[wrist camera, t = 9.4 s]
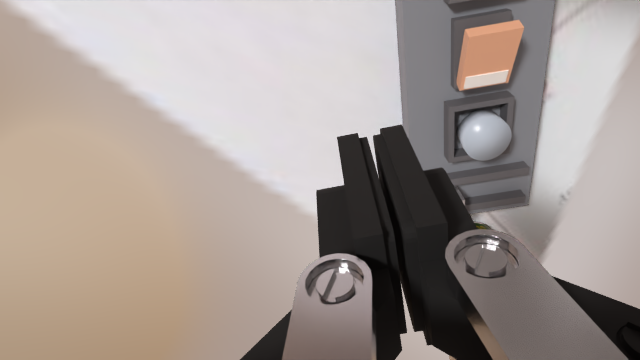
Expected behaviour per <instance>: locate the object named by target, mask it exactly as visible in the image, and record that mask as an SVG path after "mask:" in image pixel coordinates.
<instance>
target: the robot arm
mask: <svg viewBox="0 0 640 360" xmlns="http://www.w3.org/2000/svg"><path fill="white" fill-rule="evenodd" d="M337 140H338V146H339V153H340V159H341V165H342V172H343V178H344V185H343V186H337V187H332V188H326V189H321V190H317V214H318V234H319V253H320V258H319V259H316V260H315V261H313V262H312V263H311V264H309V265H308V266H307V267H306V268H305V269H304V270H303V272H302V273H301V275H300V277H299V280H298V282H297V287H296V292H295V297H294V302H293V308H292V310H291V311H290V312H289V313H288V314H287V315H286V316H285V317H284V318H283V319H282V320H281V321H279V322H278V323H277V324H276V325H275V326H274V327H273V328H272V329H271V330H270V331H269V332H268V334H266V335H265V336H264V337H263V338H262V339H261V340H260V341H259V342H258V343H257V344H256V345H255V346H254V347H253V348H252V349H251V350H250V351H249V352H247V354H246V355H244V356H243V357H242V358H241V359H240V360H395V359H396V357H397V356H398V355H399V353H400V352H401V351H402V346H401V339H400V334H403V333H407V328H406V320H405V313H404V305H403V297H402V289H401V284H402V288H403V292H404V295H405V299H406V303H407V306H408V311H409V314H410V318H411V321H412V325H413V329H414V331H415V332H417V331H423V332H424V336H425V339H426V342H427V345H433V346H434V347H436V348H438V349H440V350H441V351H443V352H445V353H446V354H448V355H449V359H450V360H640V309H638V308H635V307H633V306H630V305H627V304H625V303H622V302H620V301H617V300H614V299H612V298H609V297H606V296H603V295H601V294H598V293H596V292H593V291H590V290H588V289H585V288H582V287H580V286H577V285H574V284H571V283H569V282H566V281H564V280H561V279H558V278H556V277H553V276H551V275H550V274H549V273H548V272H547V271H546V270H545V268H544V267H543V266H542V265H541V264H540V263H539V262H538V261H537V260H536V259H535V258H534V256H533V255H532V254H531V253H530V252H529V251H528V250H527V249H526V248H525V247H524V246H523V245H522V244H521V243H520V242H519V241H517V240H516V239H515V238H514V237H511V236H509V235H507V234H505V233H503V232H499V231H494V230H486V229H477V227H476V225H475V223H474V222H473V220H472V218H471V216H470V214H469V213H468V211H467V209H466V207H465V205H464V204H463V202H462V200H461V198H460V196H459V194H458V193H457V191H456V189H455V187H454V185H453V184H452V182H451V180H450V178H449V176H448V175H447V173H446V171H445V170H444V168H442V167H441V168H435V169H430V170H424V171H423V169H422V167H421V165H420V162H419V160H418V158H417V156H416V154H415V152H414V150H413V147H412V145H411V143H410V141H409V139H408V137H407V135H406V132H405V130H404V128H403V126H402V125H397V126H392V127H387V128H381V129H380V134H379V135H374V136H373V140H374V148H375V155H376V162H377V169H378V174H377V171H376V167H375V164H374V160H373V157H372V153H371V150H370V146H369V143H368V139H367V137H364V138H359V137H358V133H356V134H350V135H345V136H340V137H337ZM378 176H379V178H378ZM400 280H401V281H400Z"/></svg>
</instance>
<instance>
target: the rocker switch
mask: <svg viewBox="0 0 640 360" xmlns="http://www.w3.org/2000/svg"><path fill="white" fill-rule="evenodd" d="M523 30H524V26H523V25H522V23H521V22H520V20H515V21H509V22H503V23H498V24H492V25H486V26H481V27H475V28H469V29H465V32H464V38H463V44H462V50H461V56H460V62H459V68H458V74H457V86H458V88H459V91H461V90H467V89H473V88H479V87H485V86H491V85H497V84H503V83H508V81H509V78H510V74H511V71H512V68H513V64H514V61H515V57H516V54H517V51H518V47H519V44H520V41H521V37H522V34H523Z"/></svg>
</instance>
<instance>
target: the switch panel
mask: <svg viewBox="0 0 640 360" xmlns="http://www.w3.org/2000/svg"><path fill="white" fill-rule="evenodd" d="M554 5H555V0H395V6H396V22H397V38H398V54H399V70H400V86H401V102H402V118H403V128H404V130H405V132H406V135H407V137H408V139H409V141H410V143H411V145H412V147H413V150H414V152H415V154H416V156H417V158H418V160H419V162H420V165H421V167H422V169H423V171H424V170H430V169H435V168H441V167H442V168H444V170H445V171H446V173H447V175H448V176H449V178H450V180H451V182H452V184H453V185H454V186H456V185H457V187H458V189H459V191H460V192H461V194H462V196H463V197H464V199H465V207H466V209H467V211H468V213H469V214H473V213H479V212H486V211H492V210H499V209H505V208H512V207H518V206H525V205H528V202H529V195H530V187H531V179H532V172H533V164H534V157H535V149H536V141H537V134H538V126H539V119H540V111H541V103H542V96H543V88H544V81H545V73H546V65H547V58H548V50H549V43H550V35H551V28H552V20H553V12H554ZM515 20H520V22H521V23H522V25H523V26H524V30H523V34H522V37H521V41H520V44H519V47H518V51H517V54H516V57H515V61H514V64H513V68H512V71H511V74H510V78H509V81H508V83H503V84H497V85H491V86H485V87H479V88H473V89H467V90H461V91H459V88H458V86H457V74H458V68H459V62H460V56H461V50H462V44H463V38H464V32H465V29H469V28H475V27H481V26H486V25H492V24H498V23H503V22H509V21H515ZM482 109H487V110H491V111H494V112H495V113H497V114H498V115H499V116H500V117H501V118H502V119H503V120H504V121H505V122H506V123H507V124H508V125H509V127H510V129H511V133H512V137H511V141H510V144H509V145H508V147H507V148H506V150H505V151H504V152H503V153H502V154H500V155H499V156H497V157H495V158H493V159H490V160H485V161H480V160H475V159H473V158H471V157H470V156H469V155H468V154H467V153H466V151H465V150H464V148H463V147H462V146H461V144H460V143H459V141H458V138H457V130H458V127H459V125H460V123H461V121H462V120H463V119H464V118H465V117H466V116H467V115H469V114H470V113H472V112H474V111H477V110H482Z"/></svg>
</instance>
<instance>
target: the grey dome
mask: <svg viewBox="0 0 640 360" xmlns="http://www.w3.org/2000/svg"><path fill="white" fill-rule="evenodd" d="M511 137H512V133H511V129H510V127H509V125H508V124H507V123H506V122H505V121H504V120H503V119H502V118H501V117H500V116H499V115H498V114H497V113H495V112H494V111H491V110H487V109H482V110H477V111H474V112H472V113H470V114H469V115H467V116H466V117H465V118H464V119H463V120H462V121H461V123H460V125H459V127H458V130H457V138H458V141H459V143H460V144H461V146H462V147H463V148H464V150H465V151H466V153H467V154H468V155H469V156H470V157H471V158H473V159H475V160H480V161H485V160H490V159H493V158H495V157H497V156H499V155H500V154H502V153H503V152H504V151H505V150H506V148H507V147H508V145H509V144H510V141H511Z"/></svg>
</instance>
